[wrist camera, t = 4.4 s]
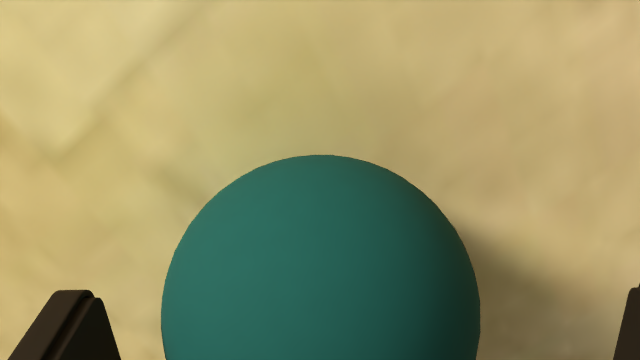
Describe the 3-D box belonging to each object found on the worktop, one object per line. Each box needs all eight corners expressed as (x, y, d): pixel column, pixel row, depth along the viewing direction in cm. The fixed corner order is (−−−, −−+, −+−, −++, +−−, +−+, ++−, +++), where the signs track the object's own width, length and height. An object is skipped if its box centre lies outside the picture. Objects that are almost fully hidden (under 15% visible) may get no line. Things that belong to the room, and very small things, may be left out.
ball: (217, 323, 16) (158, 559, 10) (176, 114, 13) (67, 295, 8) (446, 315, 15) (503, 555, 10) (456, 99, 13) (543, 277, 7)
